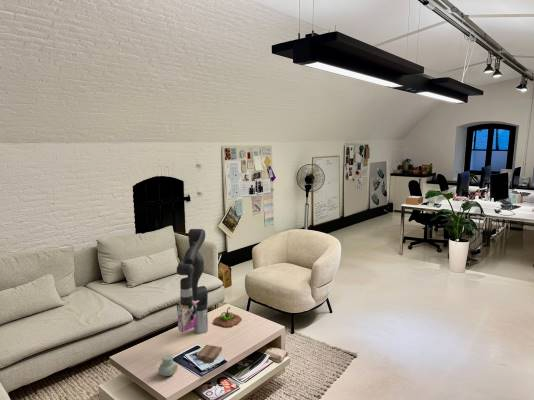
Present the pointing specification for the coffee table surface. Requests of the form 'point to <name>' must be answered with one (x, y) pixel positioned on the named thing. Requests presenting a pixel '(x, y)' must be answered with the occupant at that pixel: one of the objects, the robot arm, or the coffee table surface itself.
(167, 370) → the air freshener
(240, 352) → the coffee table surface
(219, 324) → the plant
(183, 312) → the candy bar box
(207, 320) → the robot arm
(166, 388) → the coffee table surface
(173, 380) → the coffee table surface
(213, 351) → the walnut plinth
